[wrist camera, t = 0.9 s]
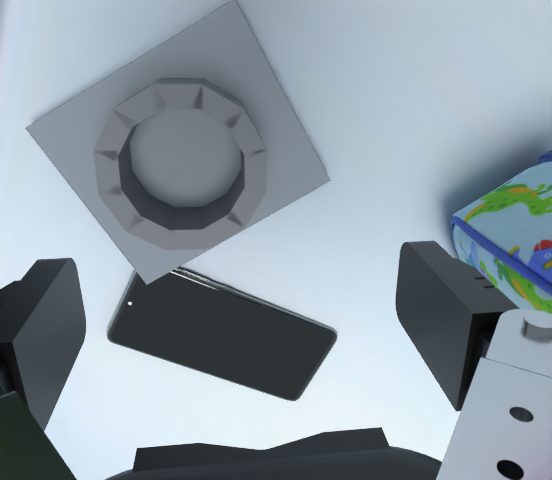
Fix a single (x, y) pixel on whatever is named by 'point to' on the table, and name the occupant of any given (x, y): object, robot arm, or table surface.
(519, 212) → the lunch box
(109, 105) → the square flange plate
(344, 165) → the table surface
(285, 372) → the smartphone
